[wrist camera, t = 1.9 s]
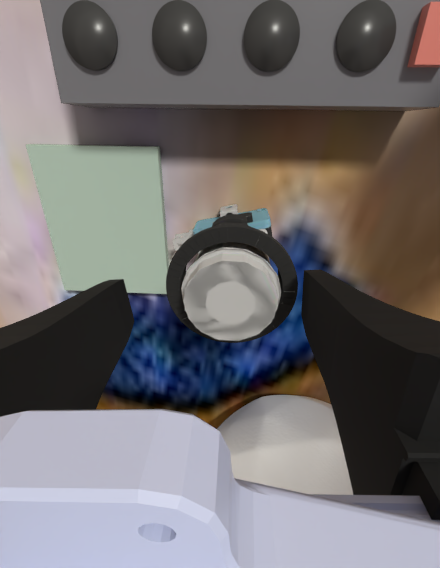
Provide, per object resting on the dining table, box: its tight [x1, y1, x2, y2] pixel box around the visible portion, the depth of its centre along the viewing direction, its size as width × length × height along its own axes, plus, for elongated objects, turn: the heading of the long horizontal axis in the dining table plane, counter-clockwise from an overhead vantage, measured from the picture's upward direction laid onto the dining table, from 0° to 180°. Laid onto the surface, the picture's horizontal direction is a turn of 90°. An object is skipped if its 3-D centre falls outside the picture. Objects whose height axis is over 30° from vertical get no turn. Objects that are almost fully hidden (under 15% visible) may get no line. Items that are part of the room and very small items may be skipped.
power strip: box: [40, 0, 440, 111], centre depth 14 cm, size 18×5×4 cm, turn 89°
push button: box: [166, 204, 298, 343], centre depth 15 cm, size 7×5×10 cm
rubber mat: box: [26, 144, 169, 294], centre depth 20 cm, size 8×10×1 cm
